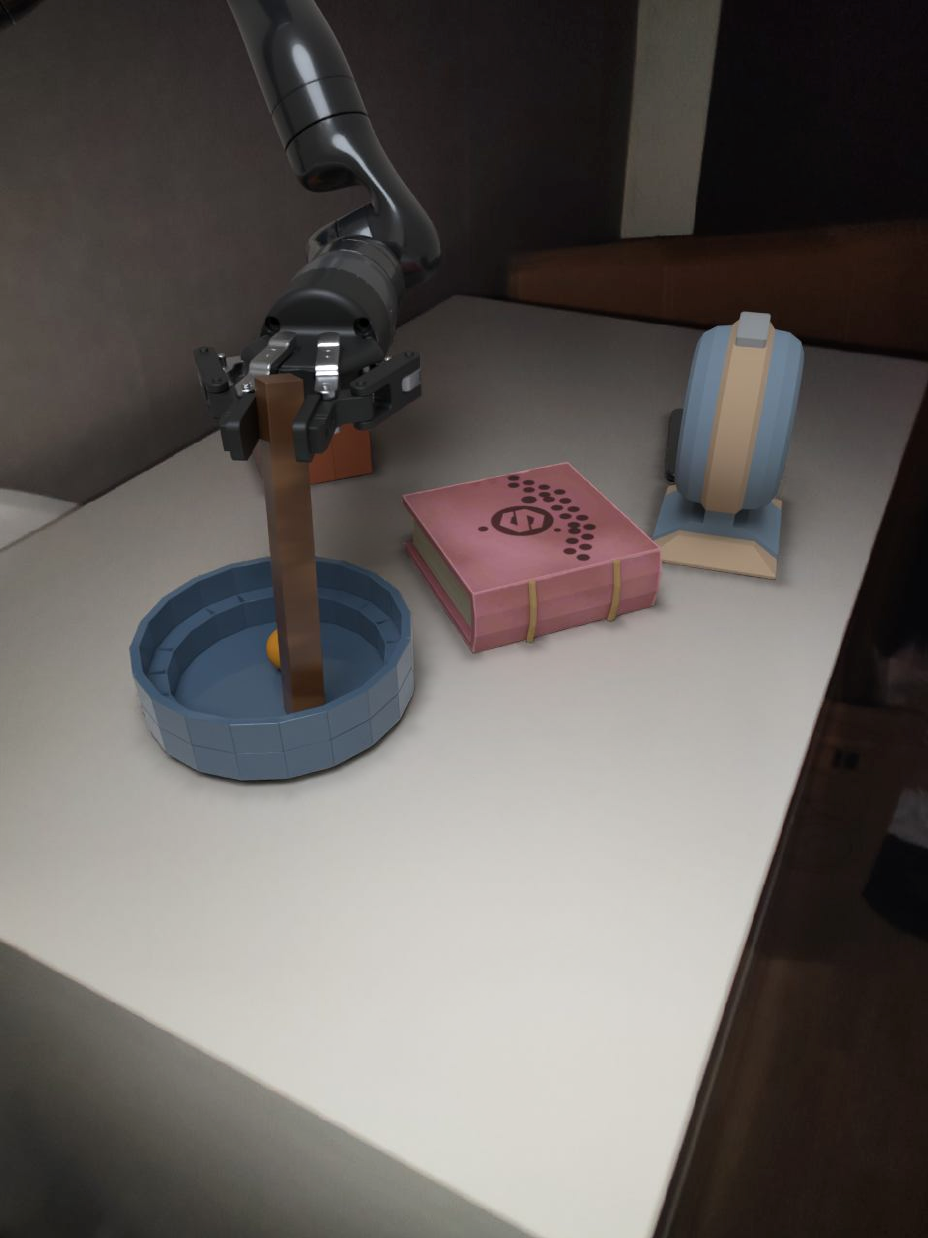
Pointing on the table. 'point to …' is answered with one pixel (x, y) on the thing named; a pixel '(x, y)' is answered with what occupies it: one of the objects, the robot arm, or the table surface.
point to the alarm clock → (733, 450)
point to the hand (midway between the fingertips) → (268, 444)
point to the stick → (290, 542)
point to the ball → (273, 649)
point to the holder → (337, 456)
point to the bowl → (271, 671)
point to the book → (529, 555)
